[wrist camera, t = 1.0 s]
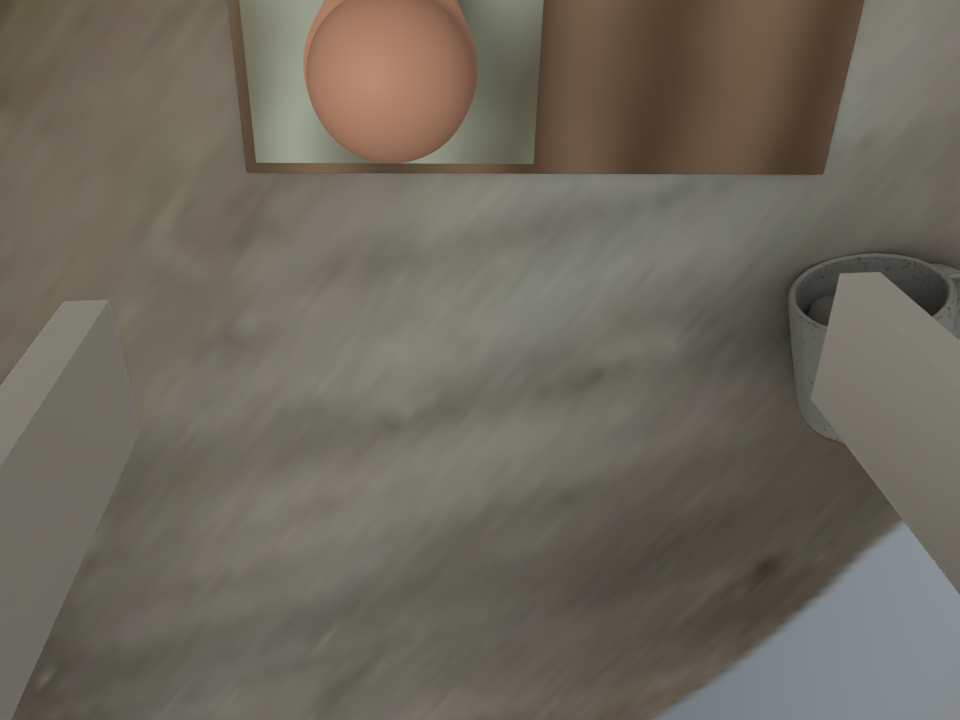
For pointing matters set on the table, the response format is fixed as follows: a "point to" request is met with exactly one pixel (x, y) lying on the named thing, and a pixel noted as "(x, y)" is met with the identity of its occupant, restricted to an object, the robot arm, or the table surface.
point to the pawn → (390, 75)
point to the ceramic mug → (932, 286)
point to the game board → (584, 88)
